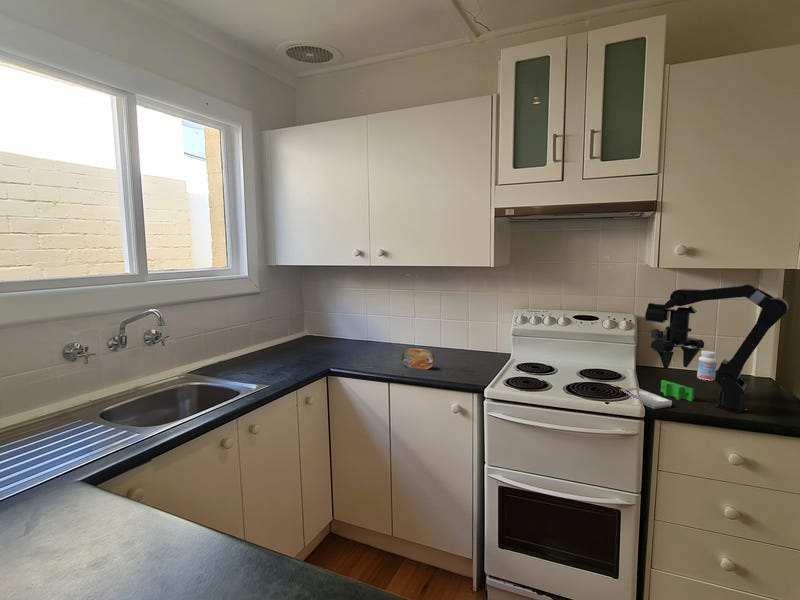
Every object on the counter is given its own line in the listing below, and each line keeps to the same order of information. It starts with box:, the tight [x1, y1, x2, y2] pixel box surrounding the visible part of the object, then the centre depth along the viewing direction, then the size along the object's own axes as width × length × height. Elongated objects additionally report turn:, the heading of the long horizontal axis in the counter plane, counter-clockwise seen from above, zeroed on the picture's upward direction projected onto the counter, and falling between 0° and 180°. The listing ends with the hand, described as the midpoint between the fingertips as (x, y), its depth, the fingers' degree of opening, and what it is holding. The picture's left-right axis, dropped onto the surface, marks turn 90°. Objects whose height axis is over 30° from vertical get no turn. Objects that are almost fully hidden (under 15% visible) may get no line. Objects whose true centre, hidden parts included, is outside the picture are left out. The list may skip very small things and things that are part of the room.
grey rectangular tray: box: [619, 387, 673, 410], centre depth 153 cm, size 15×8×2 cm, turn 18°
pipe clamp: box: [660, 379, 695, 402], centre depth 157 cm, size 11×4×5 cm, turn 25°
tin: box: [401, 347, 436, 370], centre depth 192 cm, size 15×3×8 cm, turn 65°
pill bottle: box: [696, 350, 718, 382], centre depth 178 cm, size 6×6×11 cm
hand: (675, 368), depth 156 cm, fingers open, 9 cm apart
